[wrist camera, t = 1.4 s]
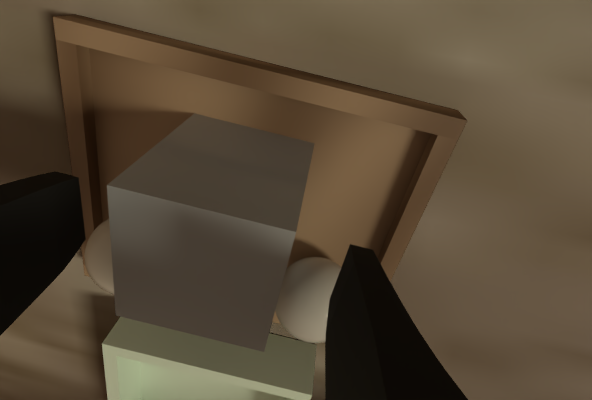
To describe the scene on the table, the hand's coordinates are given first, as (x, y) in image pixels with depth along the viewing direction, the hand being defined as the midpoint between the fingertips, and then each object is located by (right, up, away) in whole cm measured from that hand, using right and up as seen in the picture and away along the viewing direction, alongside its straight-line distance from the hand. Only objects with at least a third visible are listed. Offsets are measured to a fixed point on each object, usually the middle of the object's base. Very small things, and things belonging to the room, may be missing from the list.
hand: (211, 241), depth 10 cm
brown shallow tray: (0, +1, +4) cm, 4 cm away
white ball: (+3, -2, +5) cm, 6 cm away
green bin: (-2, -8, +10) cm, 13 cm away
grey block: (+1, +2, +3) cm, 4 cm away
